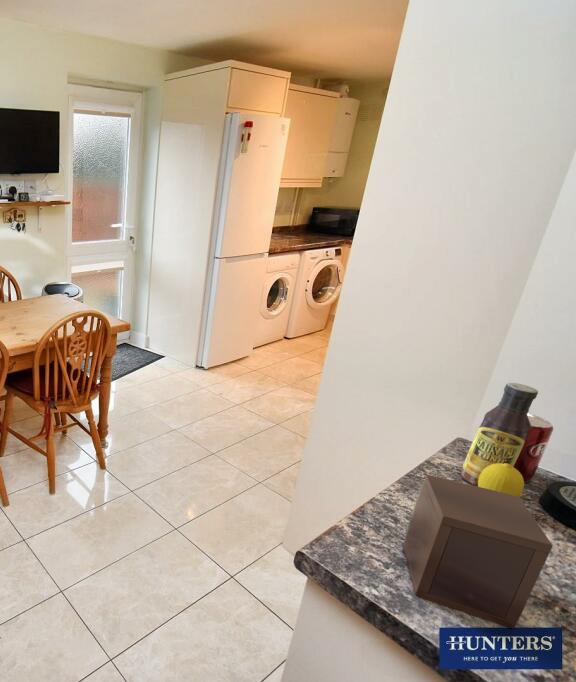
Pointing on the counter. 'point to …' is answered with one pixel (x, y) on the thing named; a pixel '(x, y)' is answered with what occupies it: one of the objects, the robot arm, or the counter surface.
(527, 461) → the soda can
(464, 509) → the box
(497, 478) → the lemon
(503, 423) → the sauce bottle
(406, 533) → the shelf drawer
